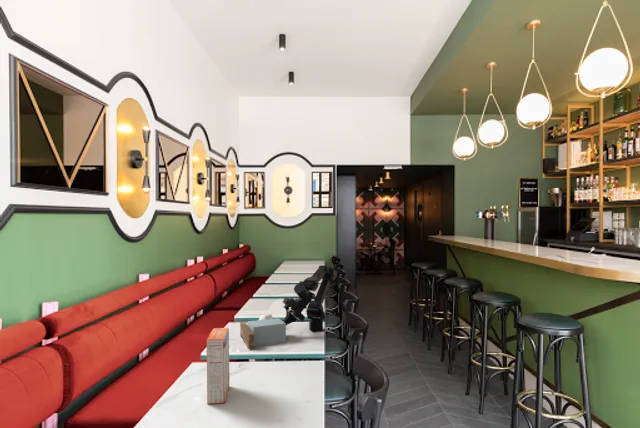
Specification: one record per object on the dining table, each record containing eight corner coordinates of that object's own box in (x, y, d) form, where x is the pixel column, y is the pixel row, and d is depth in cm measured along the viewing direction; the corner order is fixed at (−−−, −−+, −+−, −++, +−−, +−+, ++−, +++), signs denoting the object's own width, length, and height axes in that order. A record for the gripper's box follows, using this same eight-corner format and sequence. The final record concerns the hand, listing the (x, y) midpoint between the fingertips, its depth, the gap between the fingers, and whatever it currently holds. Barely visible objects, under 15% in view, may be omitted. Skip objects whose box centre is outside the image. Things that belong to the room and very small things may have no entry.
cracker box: (212, 386, 142) (212, 327, 142) (230, 386, 143) (229, 327, 143) (205, 404, 128) (205, 339, 128) (224, 403, 129) (224, 338, 129)
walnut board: (245, 335, 206) (245, 321, 206) (254, 349, 183) (254, 334, 183) (240, 336, 205) (240, 322, 205) (248, 350, 182) (248, 334, 183)
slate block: (278, 335, 206) (278, 318, 206) (285, 342, 195) (285, 323, 195) (247, 339, 199) (247, 321, 199) (253, 346, 188) (253, 327, 188)
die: (266, 334, 210) (277, 317, 214) (252, 325, 212) (263, 308, 215) (268, 335, 218) (278, 319, 222) (255, 327, 220) (265, 311, 223)
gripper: (286, 288, 211) (266, 311, 207) (298, 294, 194) (276, 319, 189) (301, 302, 214) (281, 325, 209) (313, 308, 196) (292, 334, 192)
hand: (282, 325), depth 200 cm, fingers closed, pressing on slate block
